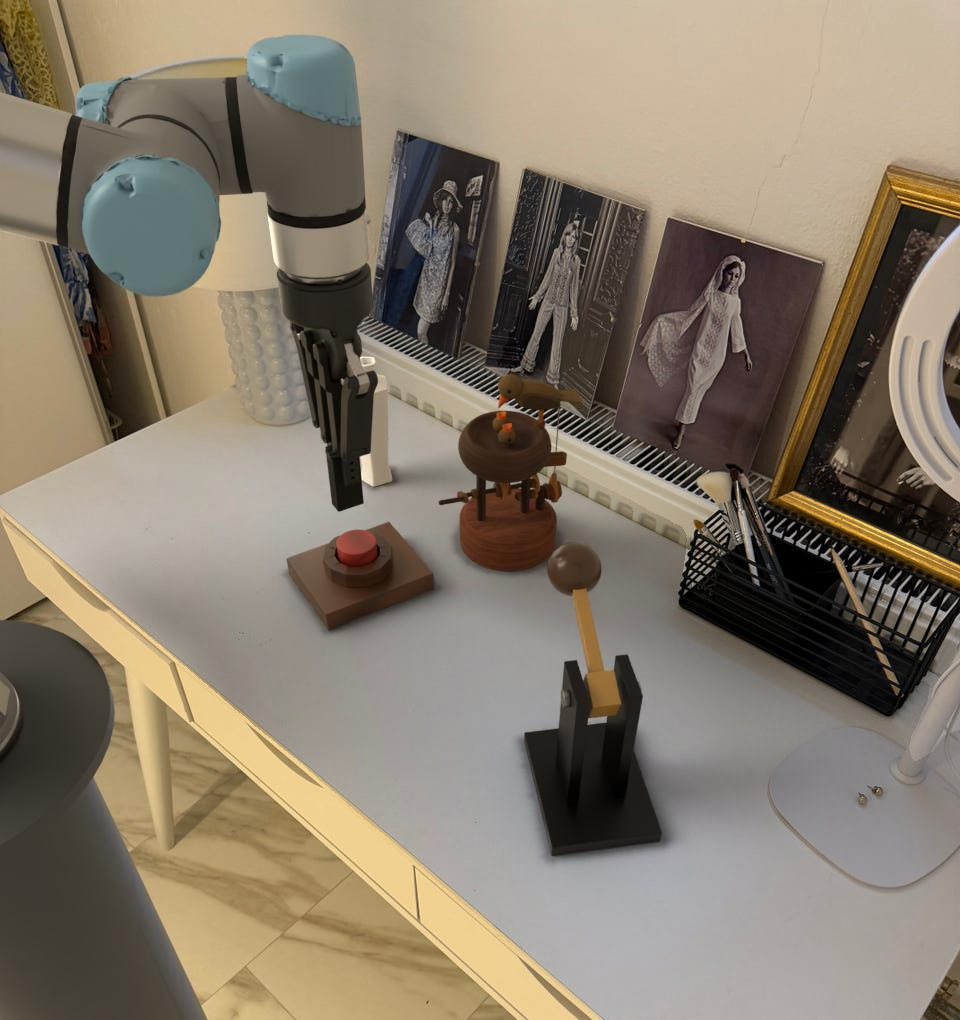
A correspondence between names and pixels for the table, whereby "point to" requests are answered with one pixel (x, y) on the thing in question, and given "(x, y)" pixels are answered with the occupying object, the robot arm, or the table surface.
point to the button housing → (360, 578)
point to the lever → (585, 620)
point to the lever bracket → (592, 770)
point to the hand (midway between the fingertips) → (347, 503)
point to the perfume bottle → (377, 433)
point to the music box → (511, 479)
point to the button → (356, 548)
